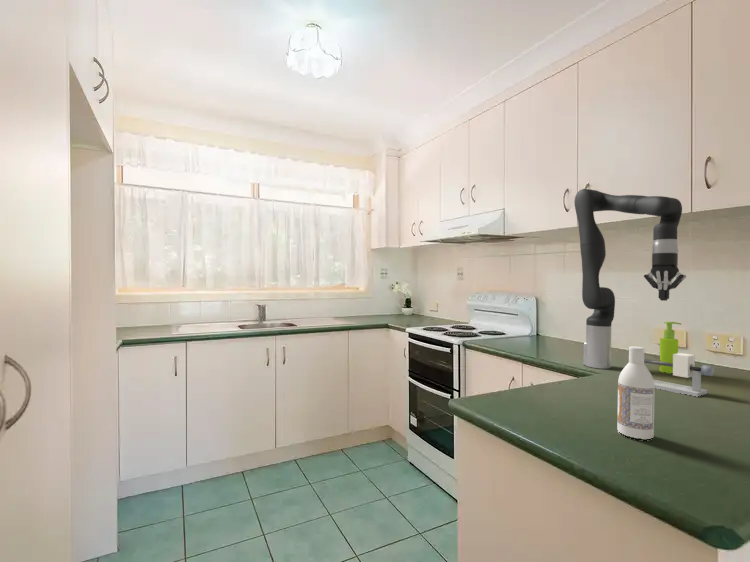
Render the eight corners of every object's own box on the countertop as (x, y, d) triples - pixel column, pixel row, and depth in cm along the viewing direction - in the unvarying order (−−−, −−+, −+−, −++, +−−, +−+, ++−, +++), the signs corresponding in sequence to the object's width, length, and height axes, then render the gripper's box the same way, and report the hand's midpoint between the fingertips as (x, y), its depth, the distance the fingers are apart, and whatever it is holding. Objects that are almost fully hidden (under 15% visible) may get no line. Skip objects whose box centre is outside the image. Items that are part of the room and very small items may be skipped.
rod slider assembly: (627, 382, 140) (627, 355, 140) (638, 380, 145) (638, 353, 145) (706, 399, 122) (707, 367, 122) (716, 395, 126) (716, 365, 126)
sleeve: (672, 375, 130) (673, 354, 130) (679, 373, 133) (680, 352, 133) (687, 377, 127) (687, 356, 127) (694, 375, 130) (694, 354, 130)
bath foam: (619, 427, 96) (621, 343, 96) (655, 435, 91) (656, 347, 91) (614, 435, 90) (616, 347, 90) (651, 444, 86) (653, 350, 86)
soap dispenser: (683, 374, 156) (684, 323, 156) (663, 373, 157) (664, 322, 157) (675, 371, 162) (676, 321, 162) (656, 369, 163) (657, 320, 163)
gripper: (639, 252, 148) (638, 299, 148) (682, 251, 137) (681, 301, 137) (648, 254, 152) (648, 299, 152) (691, 252, 141) (690, 301, 141)
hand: (663, 300), depth 144 cm, fingers closed
